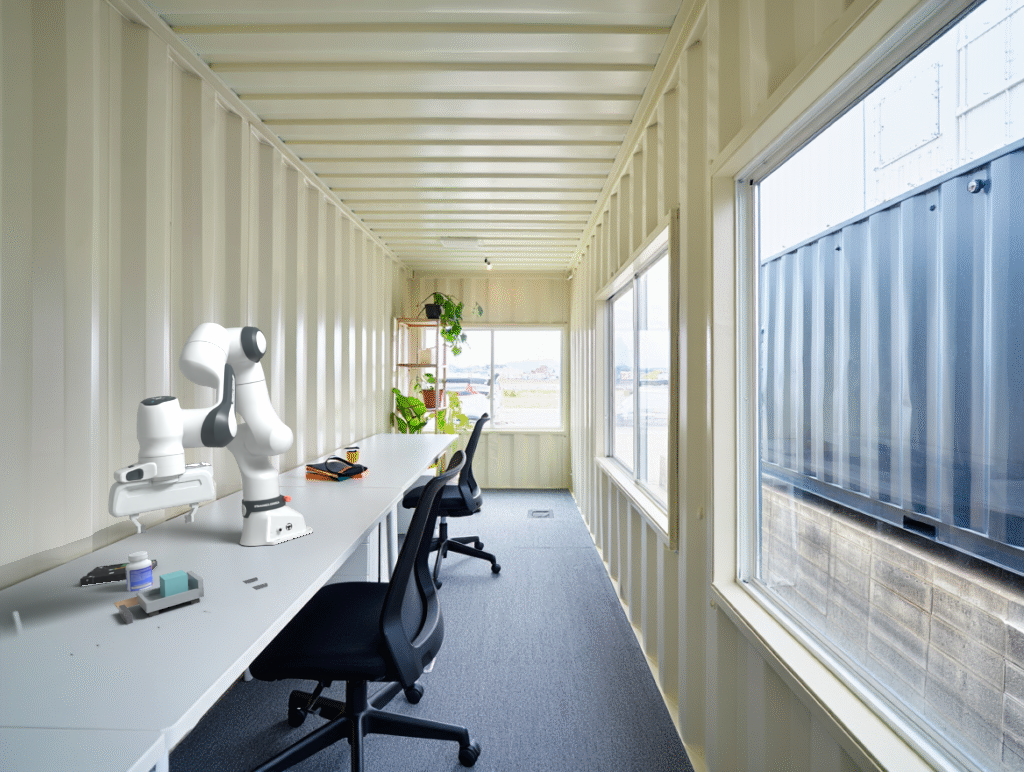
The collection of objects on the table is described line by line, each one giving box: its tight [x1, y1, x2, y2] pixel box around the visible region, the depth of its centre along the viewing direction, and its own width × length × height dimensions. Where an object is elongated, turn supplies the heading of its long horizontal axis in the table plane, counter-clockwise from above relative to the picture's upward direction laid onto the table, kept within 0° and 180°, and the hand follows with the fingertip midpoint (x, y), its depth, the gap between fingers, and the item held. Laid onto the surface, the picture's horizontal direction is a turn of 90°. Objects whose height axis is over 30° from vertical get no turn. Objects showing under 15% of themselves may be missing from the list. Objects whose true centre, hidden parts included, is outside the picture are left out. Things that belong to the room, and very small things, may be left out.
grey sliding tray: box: [136, 570, 205, 617], centre depth 119 cm, size 11×9×6 cm
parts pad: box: [113, 596, 139, 610], centre depth 123 cm, size 9×6×1 cm, turn 137°
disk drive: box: [79, 559, 158, 587], centre depth 144 cm, size 10×3×15 cm
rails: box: [118, 577, 269, 625], centre depth 123 cm, size 29×8×3 cm, turn 137°
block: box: [158, 569, 188, 598], centre depth 119 cm, size 4×4×4 cm
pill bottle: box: [125, 550, 154, 592], centre depth 131 cm, size 5×5×10 cm
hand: (166, 527), depth 119 cm, fingers open, 8 cm apart
